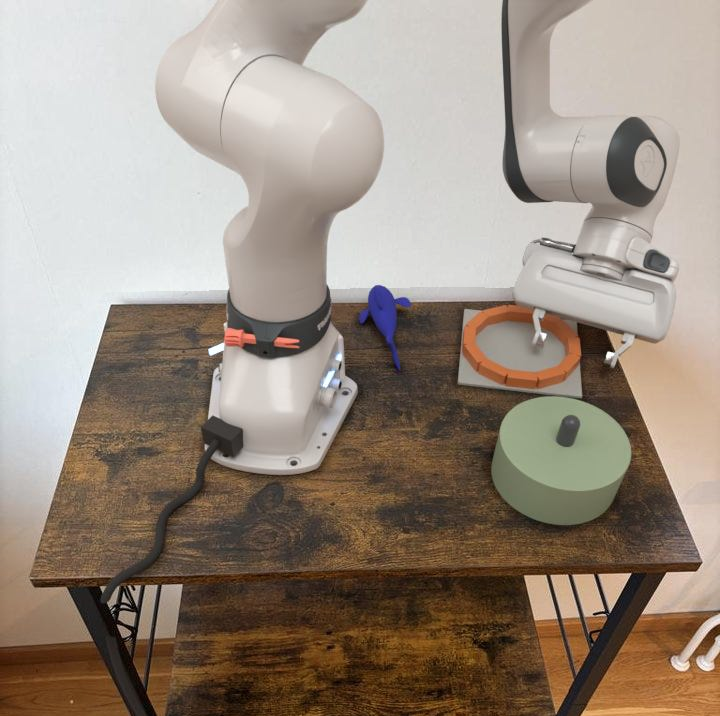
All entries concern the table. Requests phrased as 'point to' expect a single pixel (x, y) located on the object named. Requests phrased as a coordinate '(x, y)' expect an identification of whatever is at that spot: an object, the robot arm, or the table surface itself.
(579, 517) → the stand
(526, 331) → the mat
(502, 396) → the table surface
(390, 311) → the fish toy
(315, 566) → the table surface
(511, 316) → the ring
